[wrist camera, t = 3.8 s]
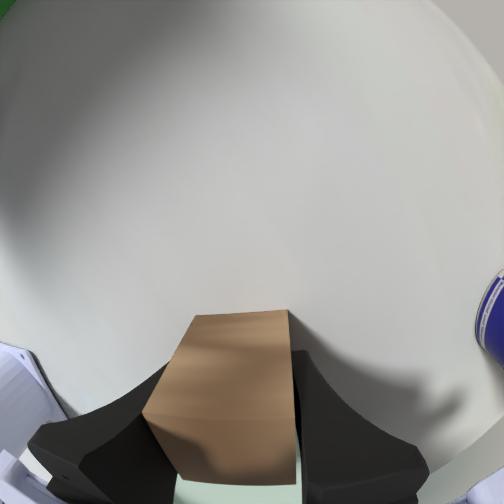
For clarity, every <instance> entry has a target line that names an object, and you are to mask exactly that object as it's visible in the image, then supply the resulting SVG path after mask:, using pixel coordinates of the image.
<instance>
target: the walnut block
mask: <svg viewBox="0 0 504 504" xmlns="http://www.w3.org/2000/svg"><path fill="white" fill-rule="evenodd" d="M142 414H143V416H144V417H145V419H146V421H147V423H148V425H149V427H150V428H151V430H152V432H153V434H154V436H155V437H156V439H157V441H158V442H159V444H160V446H161V447H162V449H163V451H164V452H165V454H166V456H167V457H168V459H169V460H170V462H171V463H172V465H173V466H174V468H175V469H176V471H177V472H178V474H179V475H180V477H181V478H182V480H186V481H193V482H201V483H211V484H222V485H240V486H279V485H296V438H295V412H294V394H293V378H292V363H291V349H290V336H289V324H288V312H287V310H276V311H264V312H250V313H235V314H217V315H195V317H194V319H193V321H192V323H191V324H190V326H189V328H188V330H187V331H186V333H185V335H184V337H183V338H182V340H181V342H180V344H179V346H178V347H177V349H176V351H175V353H174V355H173V356H172V358H171V360H170V362H169V364H168V365H167V367H166V369H165V371H164V373H163V374H162V376H161V378H160V380H159V382H158V383H157V385H156V387H155V389H154V391H153V393H152V394H151V396H150V398H149V400H148V402H147V404H146V405H145V407H144V409H143V411H142Z"/></svg>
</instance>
